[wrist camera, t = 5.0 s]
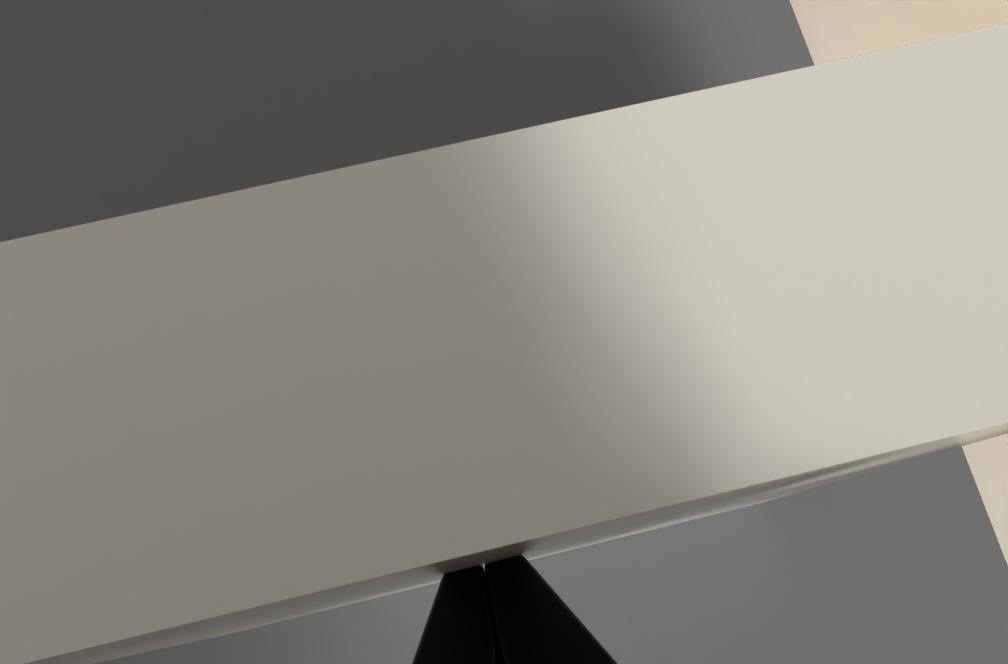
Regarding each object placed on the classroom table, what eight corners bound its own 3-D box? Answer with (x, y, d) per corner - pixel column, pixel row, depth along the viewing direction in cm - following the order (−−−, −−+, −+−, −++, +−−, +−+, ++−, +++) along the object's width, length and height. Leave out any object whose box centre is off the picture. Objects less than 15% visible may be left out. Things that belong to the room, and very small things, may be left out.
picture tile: (759, 503, 16) (1290, 354, 5) (221, 636, 15) (-474, 784, 4) (718, 372, 16) (1105, -5, 6) (202, 494, 16) (-441, 330, 5)
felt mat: (1104, 843, 14) (1116, 848, 14) (35, 1138, 13) (24, 1151, 13) (716, -170, 20) (719, -180, 20) (-45, -17, 19) (-54, -27, 19)
